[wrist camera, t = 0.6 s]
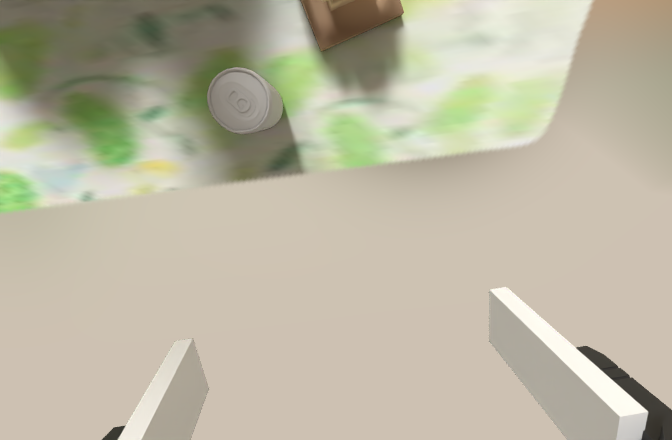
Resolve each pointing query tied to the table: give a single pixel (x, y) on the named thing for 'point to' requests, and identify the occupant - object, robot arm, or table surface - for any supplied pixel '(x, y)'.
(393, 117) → the table surface
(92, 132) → the table surface
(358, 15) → the cradle board
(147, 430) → the robot arm
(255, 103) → the beverage can
